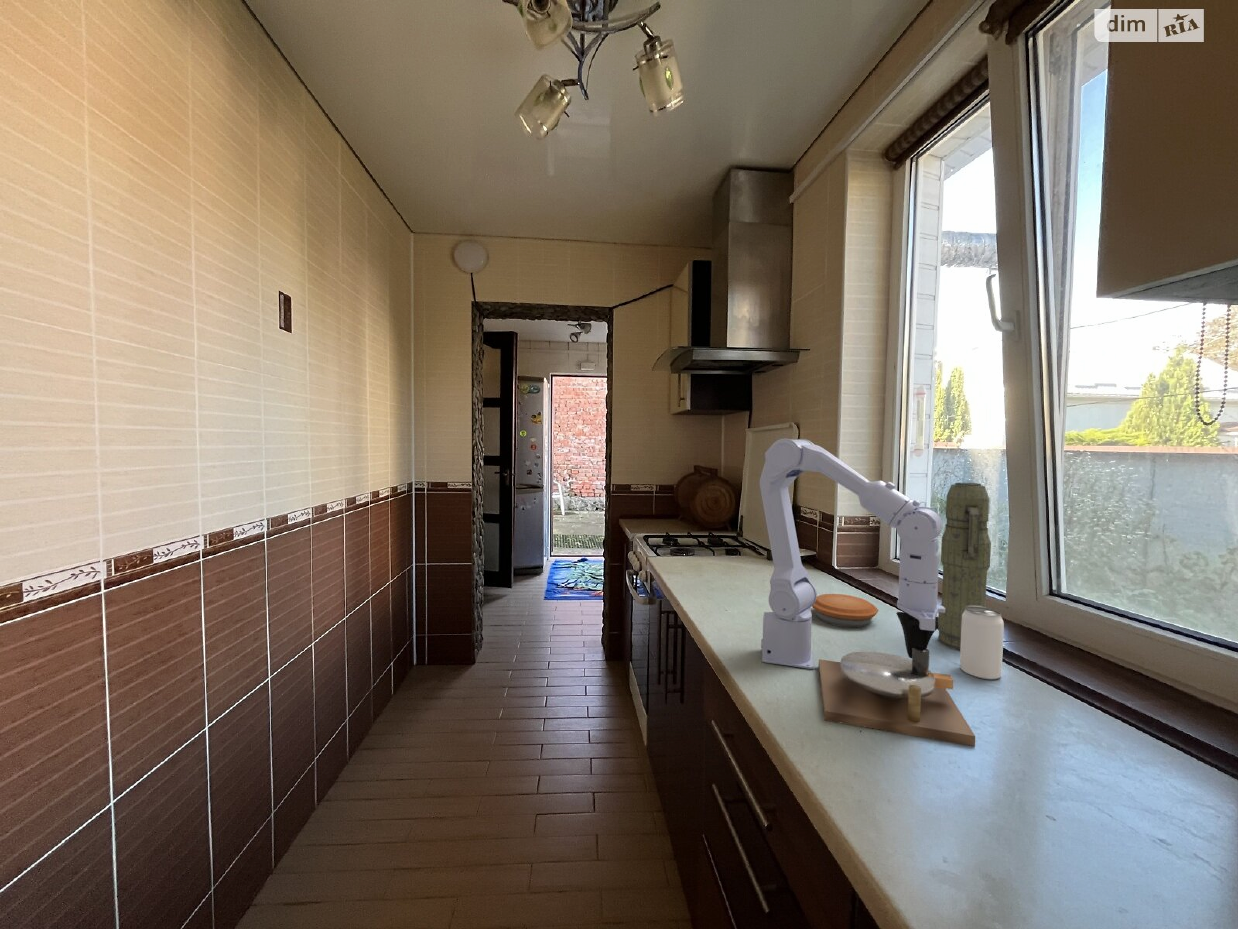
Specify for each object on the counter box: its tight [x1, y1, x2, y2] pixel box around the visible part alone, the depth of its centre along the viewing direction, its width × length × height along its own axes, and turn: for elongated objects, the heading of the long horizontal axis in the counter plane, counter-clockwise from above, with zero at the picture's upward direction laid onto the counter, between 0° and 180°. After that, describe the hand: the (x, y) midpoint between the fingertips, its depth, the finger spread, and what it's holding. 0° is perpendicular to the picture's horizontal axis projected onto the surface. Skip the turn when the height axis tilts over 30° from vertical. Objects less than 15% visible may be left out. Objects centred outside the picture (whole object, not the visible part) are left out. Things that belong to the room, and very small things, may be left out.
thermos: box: [937, 482, 992, 651], centre depth 109 cm, size 9×12×35 cm
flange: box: [840, 647, 954, 698], centre depth 85 cm, size 16×14×6 cm
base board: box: [818, 658, 976, 747], centre depth 85 cm, size 20×20×6 cm
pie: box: [811, 593, 880, 628], centre depth 125 cm, size 16×16×5 cm
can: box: [959, 606, 1005, 681], centre depth 96 cm, size 6×6×12 cm
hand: (915, 657), depth 87 cm, fingers closed
